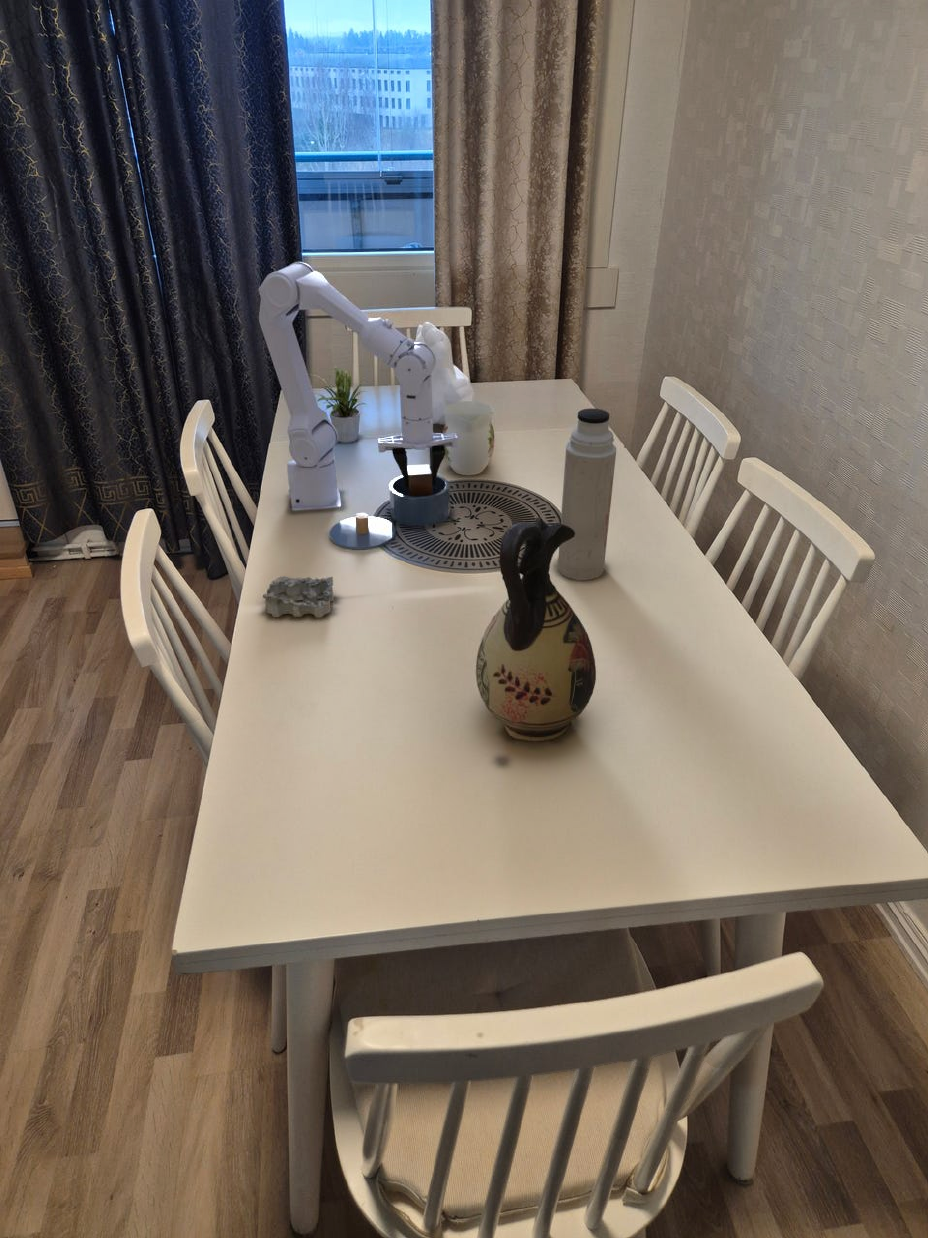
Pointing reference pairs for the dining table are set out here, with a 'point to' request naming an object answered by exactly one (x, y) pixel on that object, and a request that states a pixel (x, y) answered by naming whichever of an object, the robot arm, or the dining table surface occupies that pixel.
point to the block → (419, 480)
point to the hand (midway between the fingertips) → (419, 484)
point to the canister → (419, 503)
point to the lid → (362, 532)
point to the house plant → (343, 407)
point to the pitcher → (469, 436)
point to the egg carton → (309, 594)
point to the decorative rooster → (443, 372)
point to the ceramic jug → (534, 642)
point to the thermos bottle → (587, 495)
